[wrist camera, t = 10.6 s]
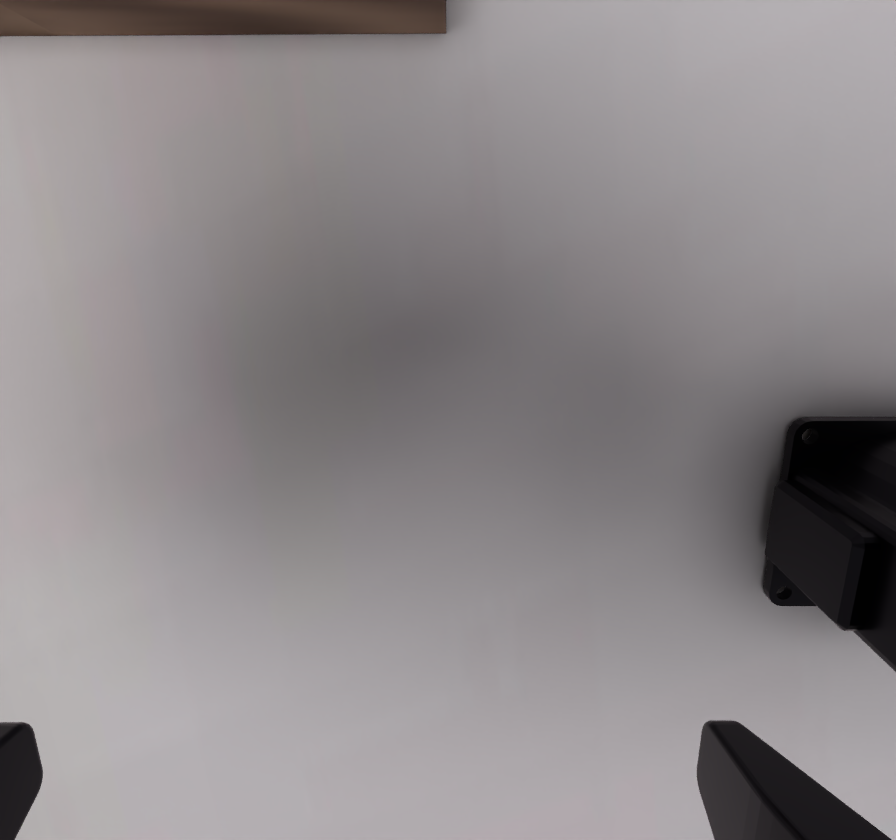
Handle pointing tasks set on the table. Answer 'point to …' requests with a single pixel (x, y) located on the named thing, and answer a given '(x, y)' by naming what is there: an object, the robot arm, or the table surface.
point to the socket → (220, 17)
